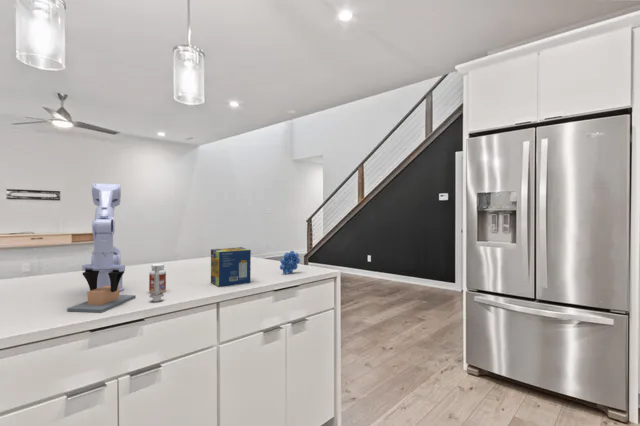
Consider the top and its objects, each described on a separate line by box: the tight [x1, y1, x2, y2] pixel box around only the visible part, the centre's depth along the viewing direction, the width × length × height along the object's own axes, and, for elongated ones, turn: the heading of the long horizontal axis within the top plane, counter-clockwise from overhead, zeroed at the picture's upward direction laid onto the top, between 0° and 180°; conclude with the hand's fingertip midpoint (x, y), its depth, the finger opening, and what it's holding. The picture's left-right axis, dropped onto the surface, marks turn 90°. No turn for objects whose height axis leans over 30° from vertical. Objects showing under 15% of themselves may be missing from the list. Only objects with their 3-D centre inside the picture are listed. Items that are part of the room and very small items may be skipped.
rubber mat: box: [66, 294, 137, 314], centre depth 120 cm, size 18×12×1 cm, turn 176°
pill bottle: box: [148, 263, 167, 294], centre depth 138 cm, size 6×6×11 cm
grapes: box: [279, 250, 301, 275], centre depth 178 cm, size 12×7×12 cm, turn 124°
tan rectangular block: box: [87, 286, 120, 305], centre depth 119 cm, size 5×9×4 cm, turn 176°
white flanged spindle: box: [149, 266, 165, 303], centre depth 124 cm, size 13×5×5 cm
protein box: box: [210, 246, 252, 288], centre depth 155 cm, size 10×15×16 cm
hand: (103, 291), depth 119 cm, fingers open, 7 cm apart
